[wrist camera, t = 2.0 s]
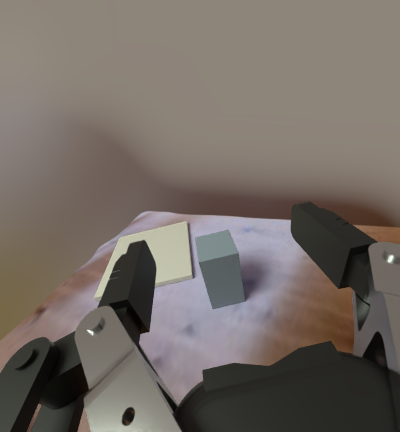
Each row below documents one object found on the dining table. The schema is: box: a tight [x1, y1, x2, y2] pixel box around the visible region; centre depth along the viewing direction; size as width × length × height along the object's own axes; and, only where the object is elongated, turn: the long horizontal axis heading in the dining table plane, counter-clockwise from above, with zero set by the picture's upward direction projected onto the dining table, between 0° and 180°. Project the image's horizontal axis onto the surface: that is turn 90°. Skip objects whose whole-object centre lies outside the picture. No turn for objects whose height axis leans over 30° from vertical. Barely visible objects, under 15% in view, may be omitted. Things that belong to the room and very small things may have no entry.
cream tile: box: [94, 221, 193, 301], centre depth 41 cm, size 18×18×1 cm
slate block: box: [195, 230, 245, 309], centre depth 28 cm, size 5×5×10 cm
